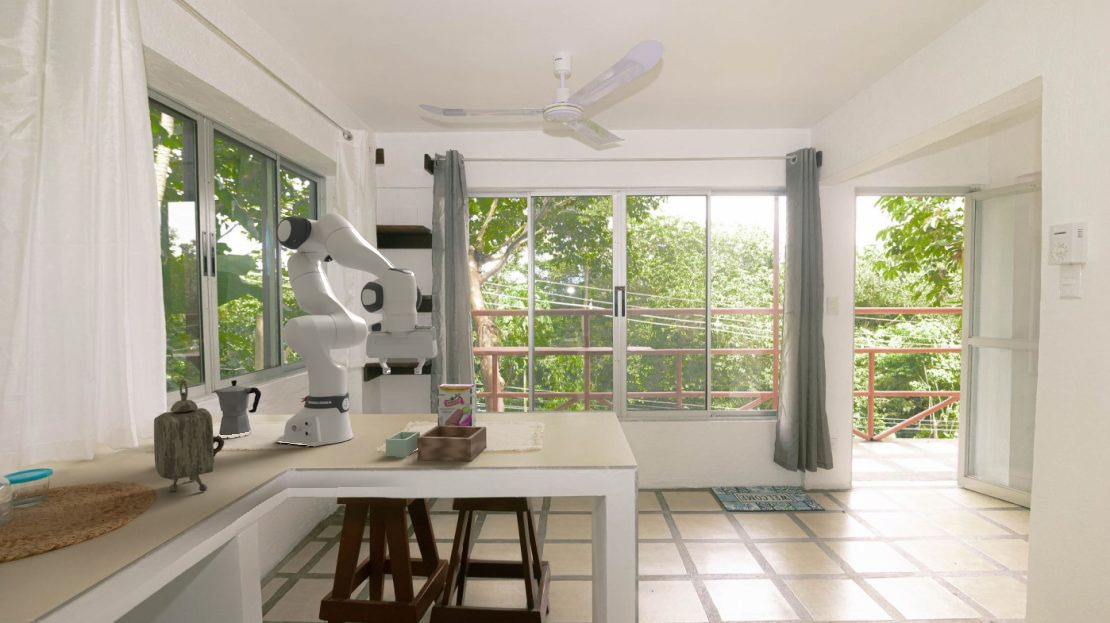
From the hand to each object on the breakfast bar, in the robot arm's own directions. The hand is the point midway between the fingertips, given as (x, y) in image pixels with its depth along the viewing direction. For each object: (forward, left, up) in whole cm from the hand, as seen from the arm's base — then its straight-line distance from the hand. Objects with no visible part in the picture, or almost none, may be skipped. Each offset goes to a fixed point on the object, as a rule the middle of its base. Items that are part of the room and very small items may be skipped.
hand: (402, 374), depth 150 cm
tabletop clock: (-37, -35, -22) cm, 56 cm away
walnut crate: (+14, +1, -22) cm, 27 cm away
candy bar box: (+9, +19, -23) cm, 31 cm away
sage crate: (0, 0, -22) cm, 22 cm away
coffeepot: (-63, +12, -23) cm, 68 cm away
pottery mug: (-52, -15, -23) cm, 58 cm away
